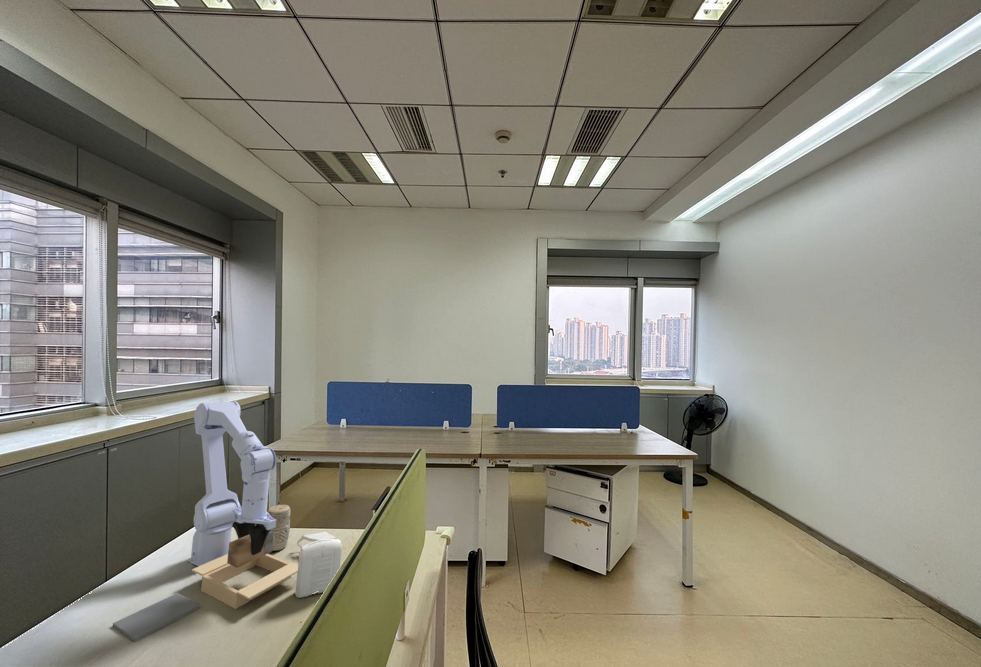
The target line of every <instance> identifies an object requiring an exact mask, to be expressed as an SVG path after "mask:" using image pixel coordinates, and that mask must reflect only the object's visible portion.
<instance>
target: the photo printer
mask: <svg viewBox="0 0 981 667" xmlns="http://www.w3.org/2000/svg"><path fill="white" fill-rule="evenodd" d="M342 552H343V546H342V541H341V540H340V539H338V538H337V539H322V540H318V541H314V542H313V541H310V542H309V543H307V544H305V545H302V547H301V548H300V552H299V555H298V563H297V564H298V572H297V573H296V583H295V584H296V585H295V596H296V598H306V597H310V596H311V595H310V594H312V593H314V592H316V591H319V593H318V594H321V593H325V592H324V590H325V589H326V588H327V586H328V584H329V583H330V582H331V580H332V578H333V577H334V575H335V574H336V572H337V570H338V569H339V568H340V569H341V562H342ZM309 595H310V596H309Z"/></svg>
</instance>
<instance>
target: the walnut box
mask: <svg viewBox="0 0 981 667" xmlns="http://www.w3.org/2000/svg"><path fill="white" fill-rule="evenodd" d="M272 544H273V531H270V532H269V533H268V535H267V537H266V539H265V542H264V544H263V547H262V550H261V552H260V553H257V554H255V555H252V553H251V538H250V534H249V535H247V536H244V537H242V538H239V539H238V538H237V539H235V540H232V541H231V542H229V549H228V560H227V563H228V564H230V565H232V566H234V567H237V568H238V567H240V566H242V565H244V564H246V563H249V562H251V561H253V560H255V559H257V558H259V557H261V556H263V555H266V554H270V553H272V552H273V551H272Z"/></svg>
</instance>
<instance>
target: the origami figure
mask: <svg viewBox="0 0 981 667" xmlns="http://www.w3.org/2000/svg"><path fill="white" fill-rule="evenodd" d="M322 539H338V538H337V537H336V536H334V535H332V534H331V533H328V530H326V531H322V532H316V533H309V534H304V535H303V534H302V536H301V537H300V539H299V540H298V541H297V542H296V545H297V546H298V547H299V548H300V549H301V547H303V545H301V544H300V543H301V542H302V541H303V540H306V541H308V542H314V541H318V540H322Z"/></svg>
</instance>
